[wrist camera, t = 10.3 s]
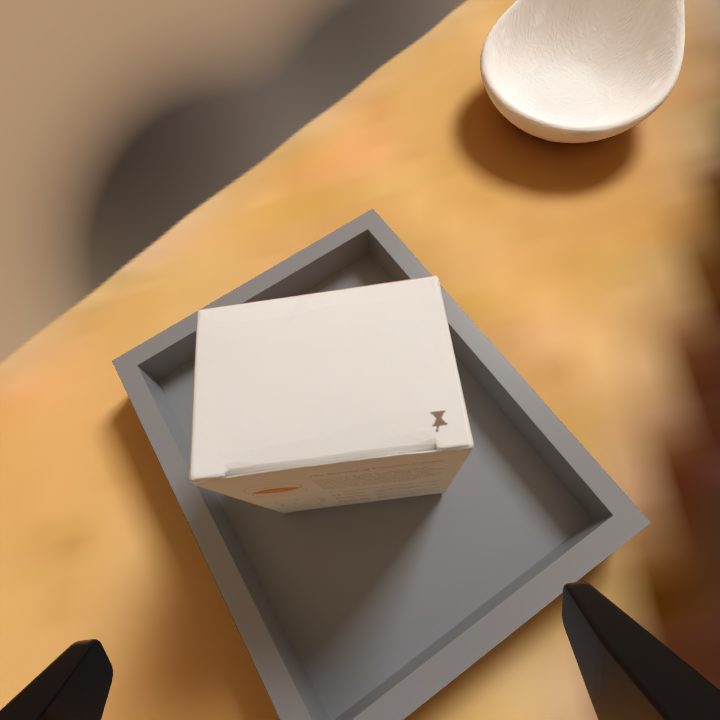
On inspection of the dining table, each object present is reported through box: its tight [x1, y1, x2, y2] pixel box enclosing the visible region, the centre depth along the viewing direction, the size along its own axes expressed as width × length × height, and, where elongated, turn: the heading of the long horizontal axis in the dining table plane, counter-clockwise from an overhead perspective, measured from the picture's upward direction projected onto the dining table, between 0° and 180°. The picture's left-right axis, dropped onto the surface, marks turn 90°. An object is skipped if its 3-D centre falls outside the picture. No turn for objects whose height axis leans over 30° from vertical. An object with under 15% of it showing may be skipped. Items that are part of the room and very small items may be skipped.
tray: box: [112, 209, 651, 720], centre depth 22 cm, size 20×16×3 cm
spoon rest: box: [480, 0, 685, 143], centre depth 31 cm, size 24×12×7 cm, turn 152°
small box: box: [189, 276, 474, 513], centre depth 18 cm, size 8×6×10 cm
